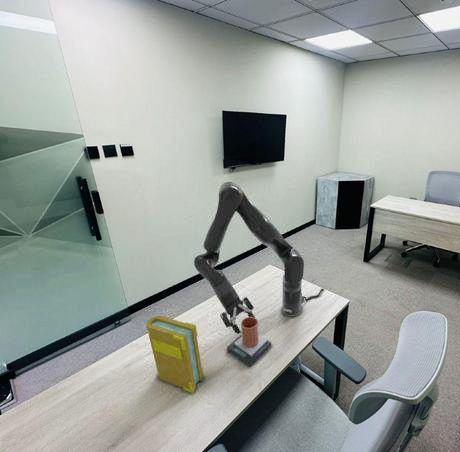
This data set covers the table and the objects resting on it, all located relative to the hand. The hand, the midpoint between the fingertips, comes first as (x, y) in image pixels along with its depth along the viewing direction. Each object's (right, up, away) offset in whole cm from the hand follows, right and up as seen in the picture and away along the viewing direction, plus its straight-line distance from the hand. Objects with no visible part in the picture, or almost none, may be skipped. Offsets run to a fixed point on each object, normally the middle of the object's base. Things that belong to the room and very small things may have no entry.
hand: (246, 326), depth 111 cm
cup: (+1, -7, +1) cm, 7 cm away
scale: (+1, -10, +2) cm, 10 cm away
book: (-24, -15, -11) cm, 30 cm away
